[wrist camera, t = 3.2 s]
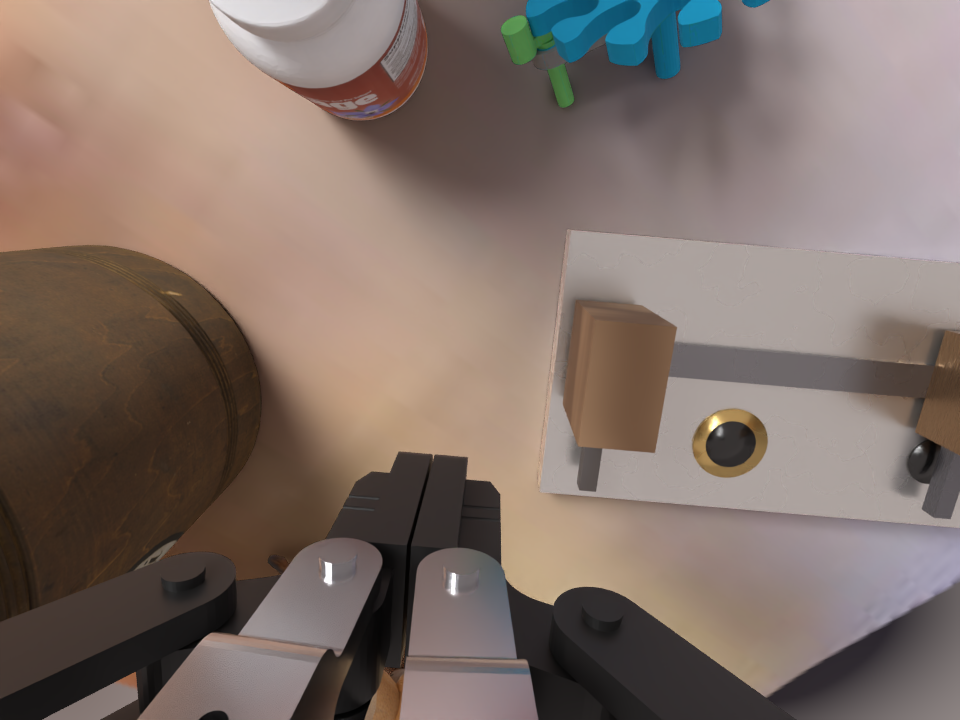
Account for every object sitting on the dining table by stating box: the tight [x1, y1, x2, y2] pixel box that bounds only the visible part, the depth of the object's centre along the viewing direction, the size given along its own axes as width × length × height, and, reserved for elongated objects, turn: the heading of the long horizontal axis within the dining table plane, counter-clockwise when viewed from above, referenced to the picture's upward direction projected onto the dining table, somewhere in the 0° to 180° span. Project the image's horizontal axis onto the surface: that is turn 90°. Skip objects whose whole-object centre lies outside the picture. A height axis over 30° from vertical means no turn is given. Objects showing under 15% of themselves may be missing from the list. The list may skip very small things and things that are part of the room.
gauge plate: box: [537, 229, 960, 528], centre depth 25 cm, size 22×13×7 cm, turn 85°
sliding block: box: [563, 300, 677, 492], centre depth 24 cm, size 3×9×5 cm, turn 175°
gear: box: [501, 0, 770, 107], centre depth 22 cm, size 11×6×10 cm
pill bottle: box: [209, 0, 428, 120], centre depth 19 cm, size 6×6×11 cm
